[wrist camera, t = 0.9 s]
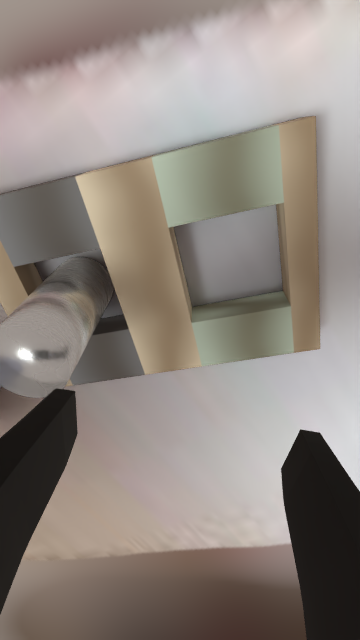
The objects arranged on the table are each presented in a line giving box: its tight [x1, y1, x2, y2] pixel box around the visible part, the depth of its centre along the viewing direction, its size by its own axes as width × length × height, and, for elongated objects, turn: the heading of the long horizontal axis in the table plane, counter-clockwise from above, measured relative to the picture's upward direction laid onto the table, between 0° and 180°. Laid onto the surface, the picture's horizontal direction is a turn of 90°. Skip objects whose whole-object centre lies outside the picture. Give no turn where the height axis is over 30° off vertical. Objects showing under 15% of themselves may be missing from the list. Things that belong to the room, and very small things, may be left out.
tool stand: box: [0, 116, 320, 386], centre depth 19 cm, size 18×12×2 cm
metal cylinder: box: [0, 257, 114, 398], centre depth 17 cm, size 4×4×8 cm
